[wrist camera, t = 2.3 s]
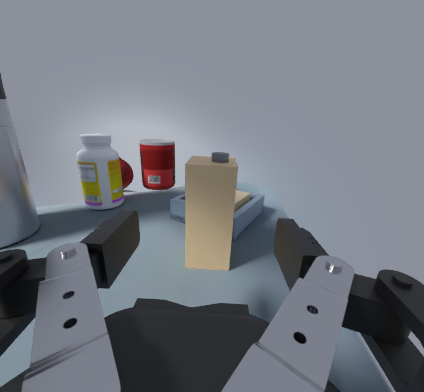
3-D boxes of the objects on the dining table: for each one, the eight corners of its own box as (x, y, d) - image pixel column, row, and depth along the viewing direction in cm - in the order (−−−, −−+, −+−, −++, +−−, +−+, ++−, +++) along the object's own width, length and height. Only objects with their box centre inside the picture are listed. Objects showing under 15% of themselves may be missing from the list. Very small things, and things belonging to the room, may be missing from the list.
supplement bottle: (121, 196, 44) (114, 133, 40) (126, 207, 39) (119, 136, 35) (85, 200, 41) (73, 133, 37) (85, 213, 36) (71, 136, 31)
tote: (170, 218, 36) (170, 198, 34) (208, 198, 45) (209, 183, 44) (233, 240, 30) (235, 218, 28) (262, 212, 39) (264, 195, 38)
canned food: (180, 186, 52) (180, 141, 48) (150, 192, 47) (147, 143, 44) (166, 179, 58) (165, 138, 54) (137, 184, 53) (134, 139, 49)
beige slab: (187, 211, 36) (187, 195, 35) (212, 198, 42) (212, 184, 41) (228, 225, 32) (229, 207, 31) (248, 208, 38) (250, 193, 37)
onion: (126, 184, 52) (123, 152, 49) (139, 190, 48) (136, 155, 46) (102, 189, 48) (97, 154, 45) (115, 196, 44) (110, 158, 42)
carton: (185, 267, 24) (185, 155, 19) (191, 243, 29) (192, 149, 24) (228, 270, 24) (238, 158, 19) (227, 245, 28) (235, 151, 24)
